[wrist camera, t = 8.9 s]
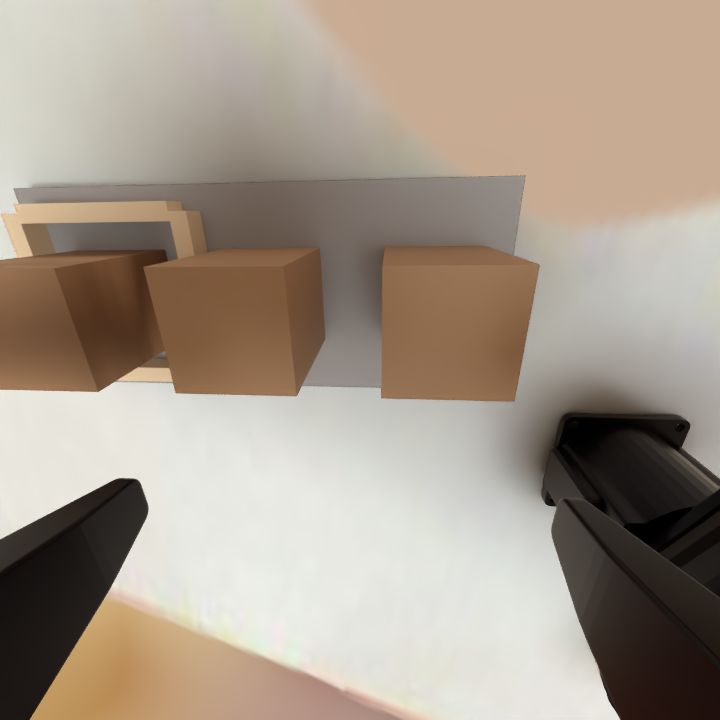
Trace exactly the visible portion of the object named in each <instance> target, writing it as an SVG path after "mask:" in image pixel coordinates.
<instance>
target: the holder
mask: <svg viewBox="0 0 720 720" xmlns="http://www.w3.org/2000/svg"><path fill="white" fill-rule="evenodd" d="M524 182H525V176H489V177H448V178H408V179H368V180H329V181H289V182H249V183H210V184H170V185H130V186H91V187H51V188H13V189H14V192H15V194H16V197H17V200H18V202H19V204H14V207H15V210H16V212H17V214H1V216H2V219H3V222H4V224H5V227H6V229H7V232H8V234H9V237H10V239H11V242H12V244H13V247H14V249H15V252H16V254H17V257H18V258H21V257H29V256H38V255H46V254H54V253H62V252H70V251H78V250H165V251H166V255H167V259H168V262H163V263H159V264H154V265H150V266H146V267H143V268H144V272H145V276H146V280H147V283H148V287H149V291H150V295H151V299H152V303H153V307H154V311H155V314H156V318H157V322H158V326H159V330H160V334H161V338H162V342H163V345H164V349H165V351H164V352H162V353H160V354H159V355H157V356H155V357H154V358H152V359H151V360H149V361H147V362H146V363H144V364H143V365H141V366H139V367H138V368H136V369H134V370H133V371H131V372H130V373H128V374H126V375H125V376H123V377H121V378H120V379H118V380H117V381H115V382H149V383H173V384H174V388H175V392H176V393H188V394H229V395H270V396H297V395H298V393H299V391H300V389H301V387H302V386H330V387H375V388H381V398H392V399H433V400H474V401H515V396H516V390H517V385H518V379H519V374H520V369H521V363H522V358H523V352H524V347H525V341H526V336H527V331H528V325H529V320H530V314H531V309H532V303H533V298H534V293H535V287H536V282H537V276H538V271H539V264H536V263H533V262H530V261H527V260H525V259H522V258H519V257H516V256H513V254H514V247H515V241H516V234H517V228H518V221H519V215H520V208H521V202H522V195H523V189H524Z"/></svg>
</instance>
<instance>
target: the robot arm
mask: <svg viewBox="0 0 720 720" xmlns="http://www.w3.org/2000/svg"><path fill="white" fill-rule="evenodd" d="M571 421H574V423H572V424H569V423H570V422H571ZM678 424H679V425H678ZM676 425H678V426H676ZM689 429H690V423H689V422H688V421H687V420H685V419H684V418H682V417H681V416H666V415H628V414H591V413H568V414H566V415H564V416H563V417H562V419H561V421H560V425H559V429H558V433H557V437H556V441H555V445H554V447H553V448H552V449H551V451H550V455H549V459H548V463H547V467H546V471H545V475H544V479H543V483H544V489H543V493H542V498H543V500H544V502H545V504H546V505H548V506H557V509H556V512H555V516H554V520H553V523H552V529H551V532H552V538H553V542H554V545H555V548H556V551H557V554H558V557H559V561H560V564H561V567H562V570H563V573H564V576H565V579H566V582H567V586H568V589H569V592H570V595H571V598H572V601H573V604H574V607H575V610H576V613H577V616H578V619H579V622H580V625H581V627H582V630H583V632H584V635H585V637H586V639H587V642H588V644H589V646H590V649H591V651H592V654H593V656H594V658H595V661H596V663H597V665H598V669H599V672H600V676H601V679H602V682H603V685H604V688H605V690H606V693H607V696H608V699H609V702H610V703H611V705H612V707H613V708H614V709H615V711H616V713H617V714H618V716H619V718H620V720H720V479H719V478H718V477H717V476H716V475H714V474H713V473H712V472H711V471H709V470H708V469H707V468H706V467H705V466H703V465H702V464H701V463H700V462H698V461H697V460H696V459H695V458H693V457H692V456H691V455H690V454H688V453H687V452H686V451H685V450H683V449H682V448H681V447H682V445H683V443H684V440H685V438H686V436H687V433H688V431H689ZM551 497H552V498H551ZM147 515H148V503H147V500H146V497H145V494H144V492H143V489H142V486H141V483H140V482H139V481H138V480H137V479H130V478H119V479H115V480H113V481H111V482H109V483H108V484H106V485H104V486H102V487H100V488H98V489H96V490H94V491H92V492H90V493H88V494H86V495H85V496H83V497H81V498H79V499H77V500H75V501H73V502H71V503H69V504H67V505H65V506H63V507H61V508H60V509H58V510H56V511H54V512H52V513H50V514H48V515H46V516H44V517H42V518H40V519H38V520H37V521H35V522H33V523H31V524H29V525H27V526H25V527H23V528H21V529H19V530H17V531H15V532H14V533H12V534H10V535H8V536H6V537H4V538H2V539H0V720H30V718H31V717H32V715H33V713H34V712H35V710H36V708H37V707H38V705H39V704H40V702H41V700H42V699H43V697H44V695H45V694H46V692H47V691H48V689H49V687H50V686H51V684H52V683H53V681H54V679H55V677H56V676H57V674H58V673H59V671H60V670H61V668H62V666H63V665H64V663H65V661H66V660H67V658H68V657H69V655H70V653H71V652H72V650H73V649H74V647H75V645H76V644H77V642H78V640H79V639H80V637H81V636H82V634H83V632H84V631H85V629H86V627H87V626H88V624H89V623H90V621H91V619H92V618H93V616H94V615H95V613H96V611H97V610H98V608H99V606H100V605H101V603H102V602H103V600H104V598H105V596H106V595H107V593H108V591H109V590H110V588H111V586H112V584H113V582H114V580H115V579H116V577H117V575H118V573H119V571H120V569H121V567H122V565H123V563H124V561H125V559H126V557H127V555H128V553H129V551H130V549H131V547H132V545H133V543H134V541H135V539H136V537H137V535H138V534H139V532H140V530H141V528H142V526H143V524H144V522H145V520H146V518H147Z"/></svg>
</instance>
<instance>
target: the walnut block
mask: <svg viewBox="0 0 720 720" xmlns="http://www.w3.org/2000/svg"><path fill="white" fill-rule="evenodd" d="M163 262H168V259H167V255H166V251H165V250H78V251H70V252H62V253H54V254H46V255H38V256H29V257H21V258H13V259H5V260H0V390H43V391H85V392H99V391H100V390H102V389H104V388H105V387H107V386H109V385H110V384H112V383H113V382H115V381H117V380H118V379H120V378H121V377H123V376H125V375H126V374H128V373H130V372H131V371H133V370H134V369H136V368H138V367H139V366H141V365H143V364H144V363H146V362H147V361H149V360H151V359H152V358H154V357H155V356H157V355H159V354H160V353H162V352H164V351H165V349H164V345H163V342H162V338H161V334H160V330H159V326H158V322H157V318H156V314H155V311H154V307H153V303H152V299H151V295H150V291H149V287H148V283H147V280H146V276H145V272H144V268H143V267H146V266H150V265H154V264H159V263H163Z"/></svg>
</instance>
